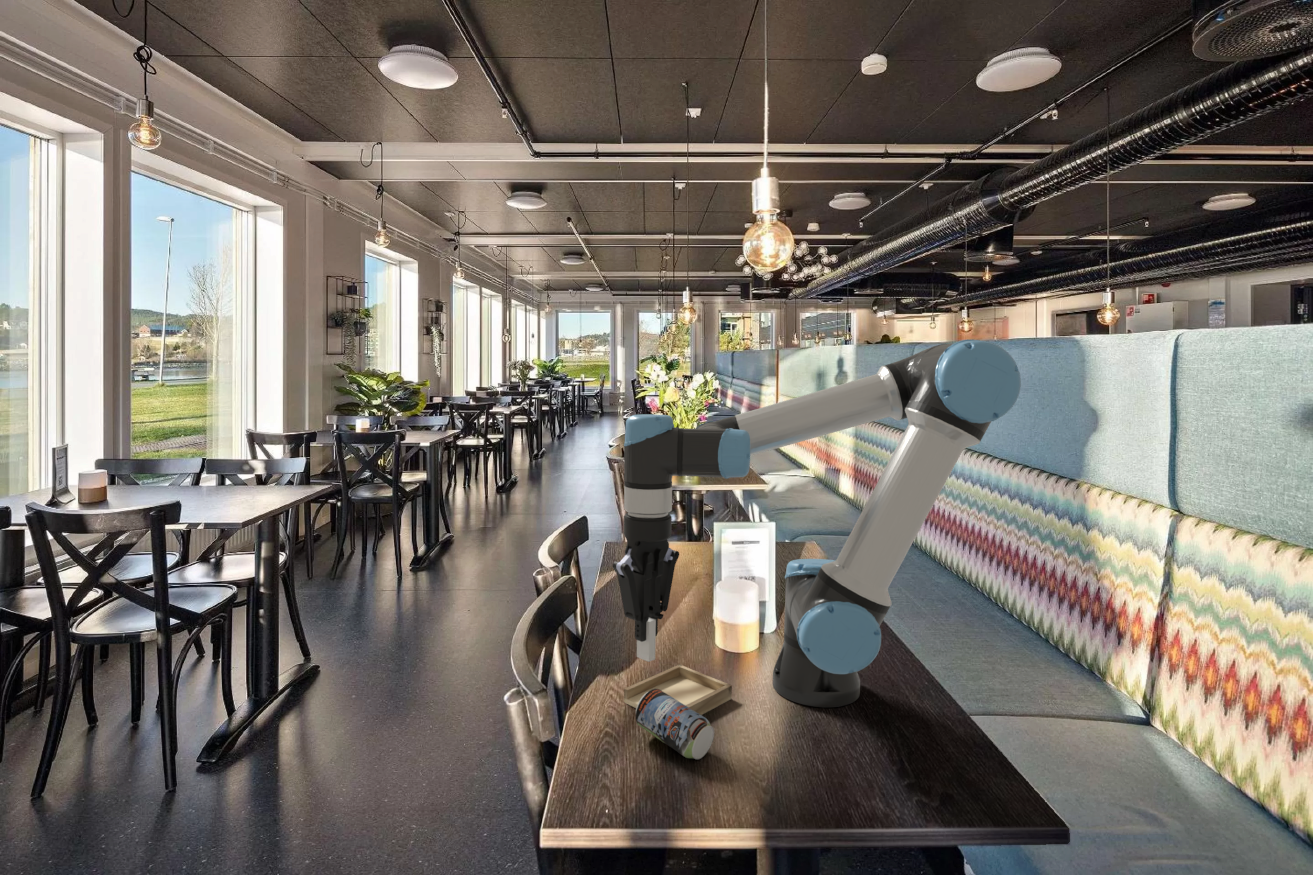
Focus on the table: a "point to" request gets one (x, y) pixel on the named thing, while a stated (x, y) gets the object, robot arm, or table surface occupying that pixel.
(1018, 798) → the table surface
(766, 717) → the table surface
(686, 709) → the beverage can
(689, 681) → the beige tray
